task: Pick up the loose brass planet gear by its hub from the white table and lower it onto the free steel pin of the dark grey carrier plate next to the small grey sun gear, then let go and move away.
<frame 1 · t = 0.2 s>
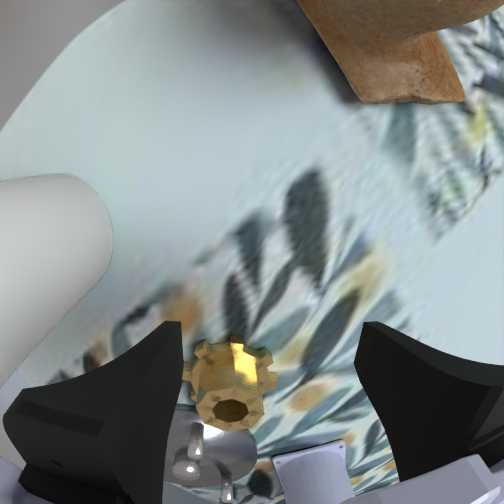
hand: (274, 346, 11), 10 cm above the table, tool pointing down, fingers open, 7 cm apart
stone cup: (356, 30, 16), on the table
carrier: (188, 448, 26), on the table
alcohol: (67, 232, 19), on the table
planet gear: (229, 372, 23), on the table
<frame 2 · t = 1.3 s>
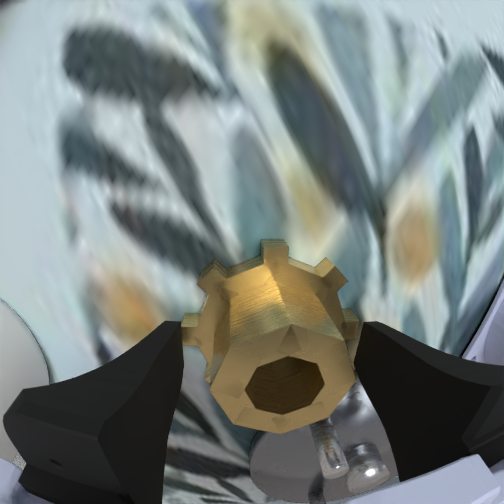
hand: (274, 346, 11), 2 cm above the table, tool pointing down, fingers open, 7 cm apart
carrier: (353, 443, 16), on the table
alcohol: (3, 347, 13), on the table
planet gear: (269, 321, 13), on the table
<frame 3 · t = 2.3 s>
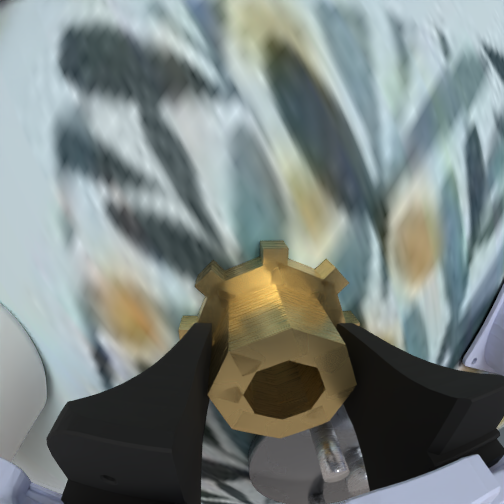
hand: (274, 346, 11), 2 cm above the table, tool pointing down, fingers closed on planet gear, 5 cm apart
carrier: (353, 445, 16), on the table
alcohol: (0, 349, 13), on the table
planet gear: (269, 324, 13), on the table, touching gripper
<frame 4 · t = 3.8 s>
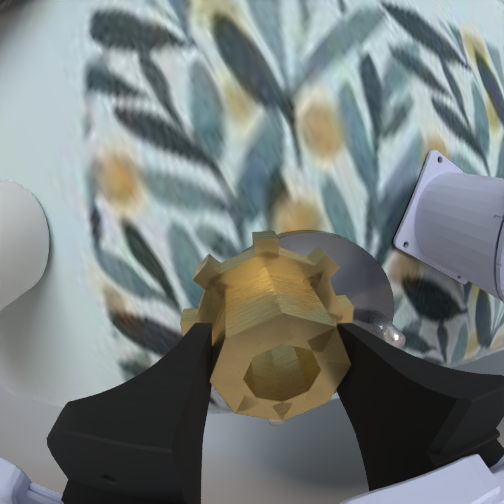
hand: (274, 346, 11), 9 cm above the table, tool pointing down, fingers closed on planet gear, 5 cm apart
carrier: (301, 324, 21), on the table
alcohol: (16, 234, 18), on the table
planet gear: (266, 311, 13), point 7 cm above the table, touching gripper
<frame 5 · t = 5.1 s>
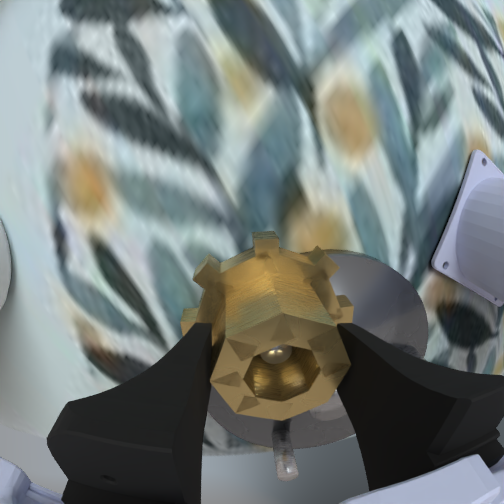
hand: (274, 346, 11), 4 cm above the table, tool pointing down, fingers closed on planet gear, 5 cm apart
carrier: (317, 363, 17), on the table
planet gear: (266, 311, 13), point 2 cm above the table, touching gripper
when the fingers open (4 cm above the table, at t = 5.7 s): planet gear stays where it is, resting on carrier.
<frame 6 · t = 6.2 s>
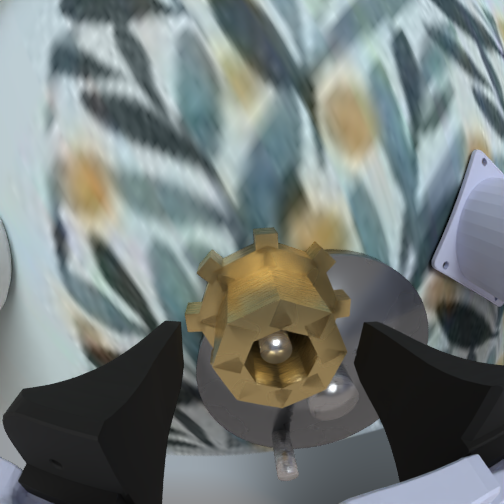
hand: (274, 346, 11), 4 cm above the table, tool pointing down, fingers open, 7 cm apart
carrier: (318, 363, 17), on the table
planet gear: (267, 305, 14), point 1 cm above the table, touching carrier
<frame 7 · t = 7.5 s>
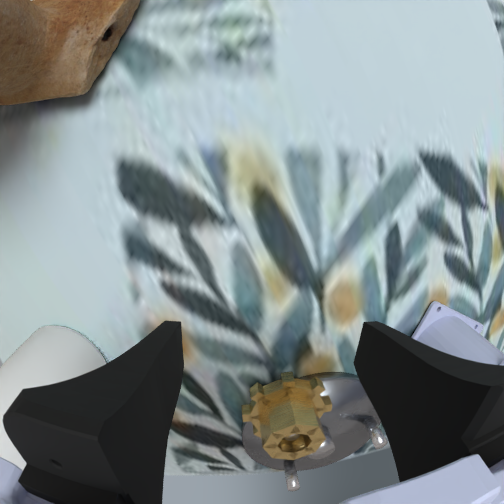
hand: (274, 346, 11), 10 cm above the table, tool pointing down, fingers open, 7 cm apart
stone cup: (50, 60, 16), on the table
carrier: (313, 425, 26), on the table
alcohol: (72, 361, 22), on the table
planet gear: (286, 404, 23), point 1 cm above the table, touching carrier
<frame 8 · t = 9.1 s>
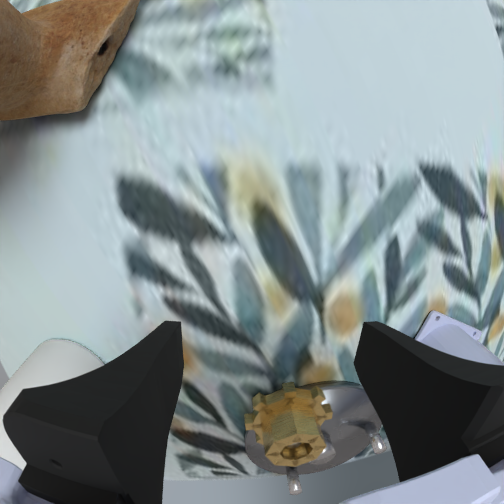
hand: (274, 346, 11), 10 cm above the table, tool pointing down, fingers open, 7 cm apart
stone cup: (45, 73, 16), on the table
carrier: (314, 431, 26), on the table
alcohol: (77, 373, 23), on the table
planet gear: (287, 413, 23), point 1 cm above the table, touching carrier
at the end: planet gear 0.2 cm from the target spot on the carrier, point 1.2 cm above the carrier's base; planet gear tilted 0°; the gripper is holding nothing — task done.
